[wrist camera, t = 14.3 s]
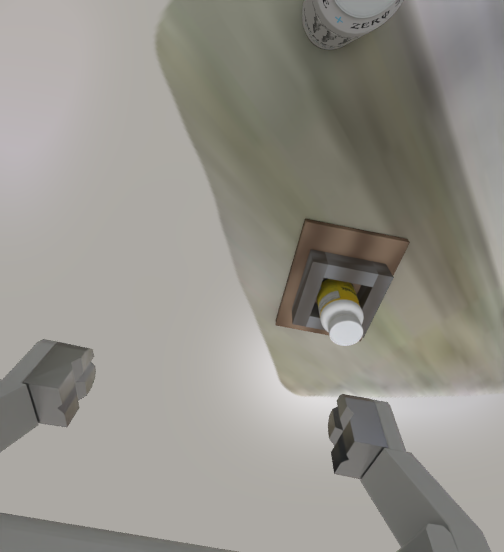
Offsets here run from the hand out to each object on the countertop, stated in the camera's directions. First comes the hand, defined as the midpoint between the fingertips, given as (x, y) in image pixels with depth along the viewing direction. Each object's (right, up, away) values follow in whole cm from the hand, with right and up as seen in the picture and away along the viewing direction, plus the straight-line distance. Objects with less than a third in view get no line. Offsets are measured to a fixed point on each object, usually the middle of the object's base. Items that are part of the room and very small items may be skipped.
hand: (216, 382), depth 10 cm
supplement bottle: (+13, +2, +36) cm, 38 cm away
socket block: (+14, +2, +36) cm, 39 cm away
